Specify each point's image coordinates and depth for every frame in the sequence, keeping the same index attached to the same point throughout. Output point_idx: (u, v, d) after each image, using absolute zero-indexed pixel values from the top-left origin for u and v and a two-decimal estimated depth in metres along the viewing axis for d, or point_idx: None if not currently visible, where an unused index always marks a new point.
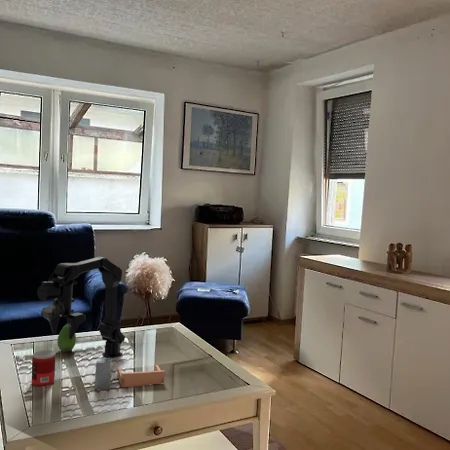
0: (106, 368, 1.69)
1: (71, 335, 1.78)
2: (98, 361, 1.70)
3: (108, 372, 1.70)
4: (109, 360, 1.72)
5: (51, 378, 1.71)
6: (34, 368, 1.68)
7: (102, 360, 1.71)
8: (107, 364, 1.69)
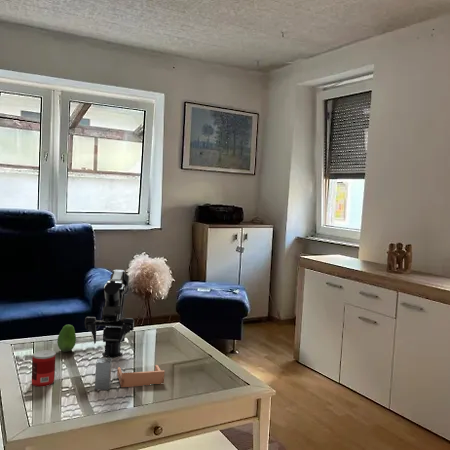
0: (106, 368, 1.69)
1: (121, 340, 1.81)
2: (98, 361, 1.70)
3: (108, 372, 1.70)
4: (109, 360, 1.72)
5: (51, 378, 1.71)
6: (34, 368, 1.68)
7: (102, 360, 1.71)
8: (107, 364, 1.69)
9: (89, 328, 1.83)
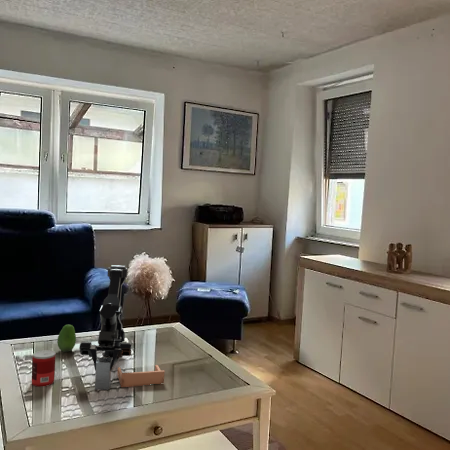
0: (106, 368, 1.69)
1: (112, 366, 1.72)
2: (98, 361, 1.70)
3: (108, 372, 1.70)
4: (109, 360, 1.72)
5: (51, 378, 1.71)
6: (34, 368, 1.68)
7: (102, 360, 1.71)
8: (107, 364, 1.69)
9: (89, 354, 1.74)
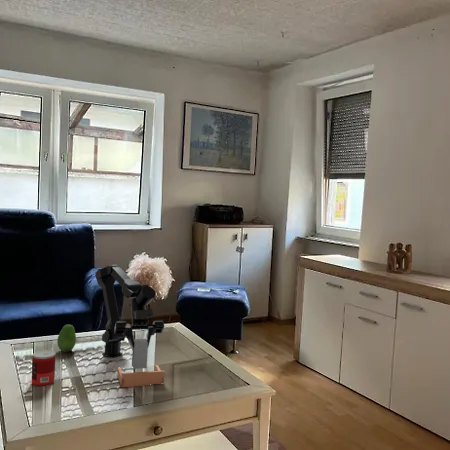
0: (144, 347, 1.78)
1: None
2: (136, 341, 1.78)
3: (146, 351, 1.78)
4: (145, 340, 1.80)
5: (51, 378, 1.71)
6: (34, 368, 1.68)
7: (139, 340, 1.79)
8: (144, 344, 1.78)
9: (125, 333, 1.81)
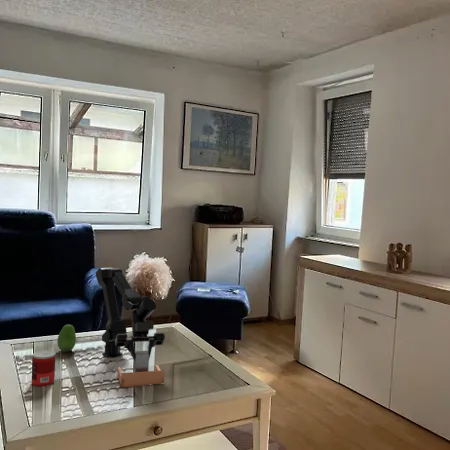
0: (145, 360, 1.78)
1: None
2: (137, 354, 1.78)
3: (147, 363, 1.79)
4: (146, 352, 1.81)
5: (51, 378, 1.71)
6: (34, 368, 1.68)
7: (140, 353, 1.80)
8: (146, 356, 1.78)
9: (126, 345, 1.82)
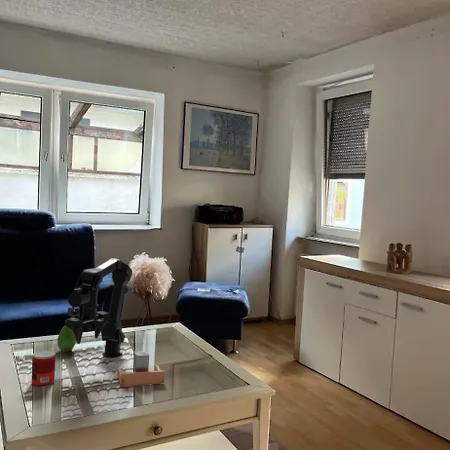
0: (145, 360, 1.78)
1: (77, 340, 1.81)
2: (137, 354, 1.78)
3: (147, 364, 1.78)
4: (146, 353, 1.80)
5: (51, 378, 1.71)
6: (34, 368, 1.68)
7: (140, 353, 1.79)
8: (146, 357, 1.78)
9: None
